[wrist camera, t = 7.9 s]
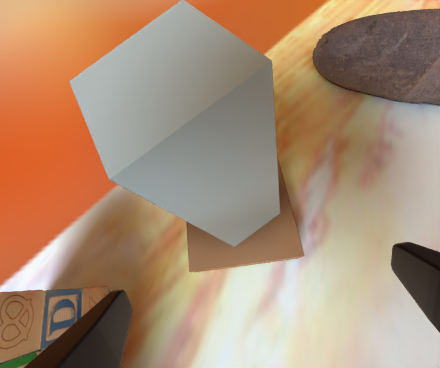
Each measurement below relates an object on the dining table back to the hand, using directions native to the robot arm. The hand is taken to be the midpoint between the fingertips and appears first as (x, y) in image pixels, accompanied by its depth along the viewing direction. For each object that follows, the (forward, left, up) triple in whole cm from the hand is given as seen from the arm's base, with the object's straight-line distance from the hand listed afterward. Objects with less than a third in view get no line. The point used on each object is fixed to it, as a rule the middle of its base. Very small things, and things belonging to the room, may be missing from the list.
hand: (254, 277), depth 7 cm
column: (+5, 0, -8) cm, 9 cm away
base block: (+5, 0, -11) cm, 12 cm away
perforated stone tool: (+16, -16, -11) cm, 25 cm away
